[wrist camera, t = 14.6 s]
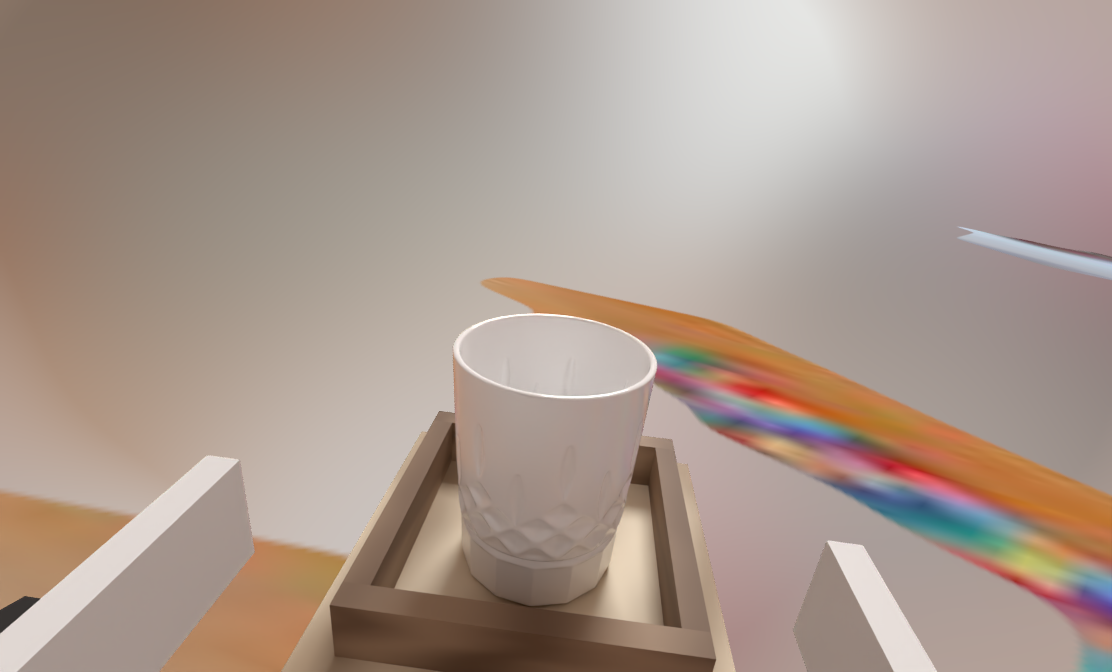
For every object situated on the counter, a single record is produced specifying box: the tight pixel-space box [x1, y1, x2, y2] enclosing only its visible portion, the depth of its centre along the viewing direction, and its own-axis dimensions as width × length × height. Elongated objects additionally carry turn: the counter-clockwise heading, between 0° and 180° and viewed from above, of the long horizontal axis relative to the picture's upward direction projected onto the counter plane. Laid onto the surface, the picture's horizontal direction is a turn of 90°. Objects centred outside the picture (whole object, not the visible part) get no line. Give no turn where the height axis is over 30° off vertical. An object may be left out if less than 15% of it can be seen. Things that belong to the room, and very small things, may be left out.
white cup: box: [453, 314, 657, 606], centre depth 23 cm, size 8×8×10 cm
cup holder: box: [281, 411, 736, 672], centre depth 25 cm, size 16×16×4 cm
